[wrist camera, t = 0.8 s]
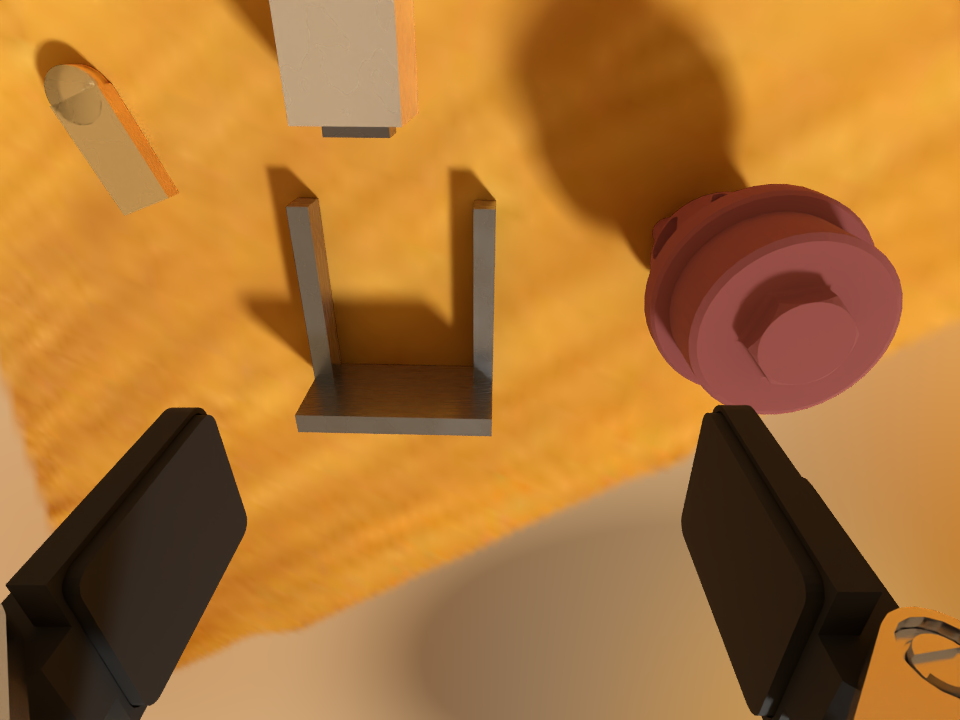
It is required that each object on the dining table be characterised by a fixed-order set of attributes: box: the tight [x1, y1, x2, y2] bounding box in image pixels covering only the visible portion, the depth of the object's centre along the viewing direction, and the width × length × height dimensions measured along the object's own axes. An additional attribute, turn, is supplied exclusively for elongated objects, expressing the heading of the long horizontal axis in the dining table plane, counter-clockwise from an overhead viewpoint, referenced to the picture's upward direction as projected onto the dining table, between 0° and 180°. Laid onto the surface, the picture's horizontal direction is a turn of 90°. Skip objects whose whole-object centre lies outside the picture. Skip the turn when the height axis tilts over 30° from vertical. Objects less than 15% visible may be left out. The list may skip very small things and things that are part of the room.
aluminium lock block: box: [269, 0, 419, 138], centre depth 25 cm, size 9×5×6 cm, turn 0°
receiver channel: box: [286, 198, 496, 436], centre depth 32 cm, size 12×11×6 cm
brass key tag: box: [44, 64, 179, 216], centre depth 30 cm, size 7×3×1 cm, turn 20°
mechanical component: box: [645, 184, 902, 414], centre depth 27 cm, size 12×10×10 cm
